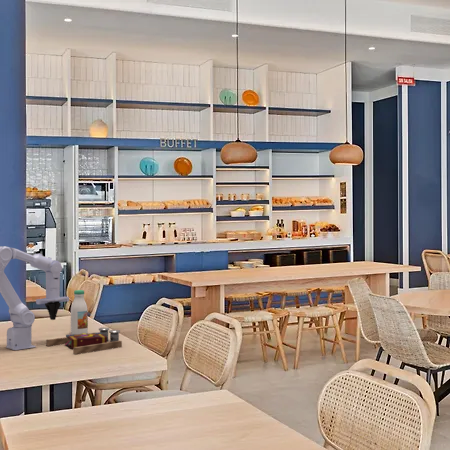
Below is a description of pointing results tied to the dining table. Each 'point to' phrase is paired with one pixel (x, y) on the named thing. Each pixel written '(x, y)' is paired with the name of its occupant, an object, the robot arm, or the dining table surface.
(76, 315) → the milk bottle
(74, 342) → the decorative book
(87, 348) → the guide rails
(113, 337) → the boss posts
